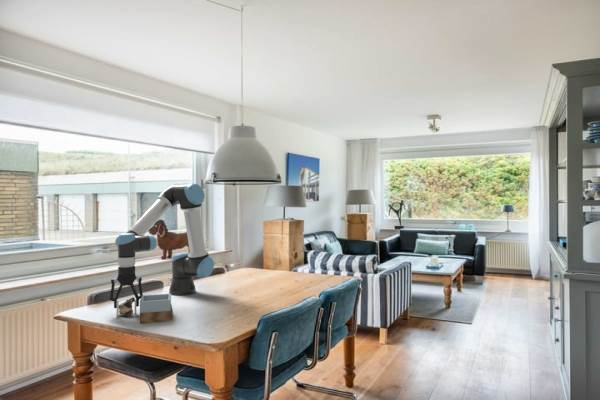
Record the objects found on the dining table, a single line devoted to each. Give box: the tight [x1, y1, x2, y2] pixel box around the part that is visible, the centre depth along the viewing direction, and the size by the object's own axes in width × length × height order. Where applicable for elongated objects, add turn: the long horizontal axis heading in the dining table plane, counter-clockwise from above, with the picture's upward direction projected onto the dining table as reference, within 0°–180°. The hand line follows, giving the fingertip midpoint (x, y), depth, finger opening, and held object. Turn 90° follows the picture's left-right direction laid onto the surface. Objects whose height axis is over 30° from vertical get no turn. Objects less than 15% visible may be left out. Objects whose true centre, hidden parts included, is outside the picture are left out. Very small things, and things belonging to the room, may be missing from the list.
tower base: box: [139, 304, 174, 325], centre depth 193 cm, size 14×14×5 cm
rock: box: [119, 296, 136, 318], centre depth 199 cm, size 9×7×10 cm
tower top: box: [139, 293, 172, 314], centre depth 193 cm, size 13×13×5 cm
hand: (126, 314), depth 199 cm, fingers closed on rock, 7 cm apart
